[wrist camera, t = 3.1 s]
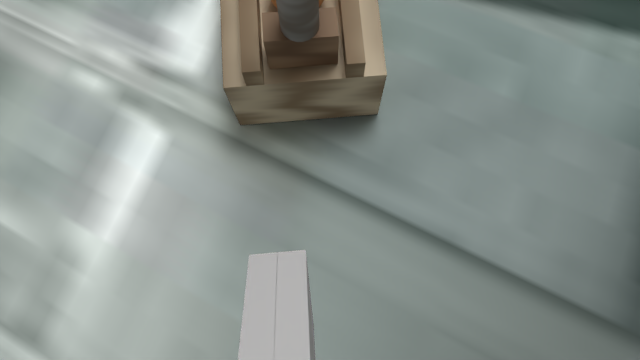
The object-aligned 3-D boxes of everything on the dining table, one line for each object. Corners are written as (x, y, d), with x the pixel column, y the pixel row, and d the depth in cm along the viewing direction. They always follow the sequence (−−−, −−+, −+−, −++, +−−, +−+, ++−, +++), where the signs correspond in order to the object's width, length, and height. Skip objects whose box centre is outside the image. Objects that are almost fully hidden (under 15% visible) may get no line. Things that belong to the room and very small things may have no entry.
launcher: (362, -17, 45) (370, -97, 37) (377, 114, 42) (390, 60, 34) (234, -7, 45) (212, -84, 37) (240, 125, 42) (217, 74, 34)
